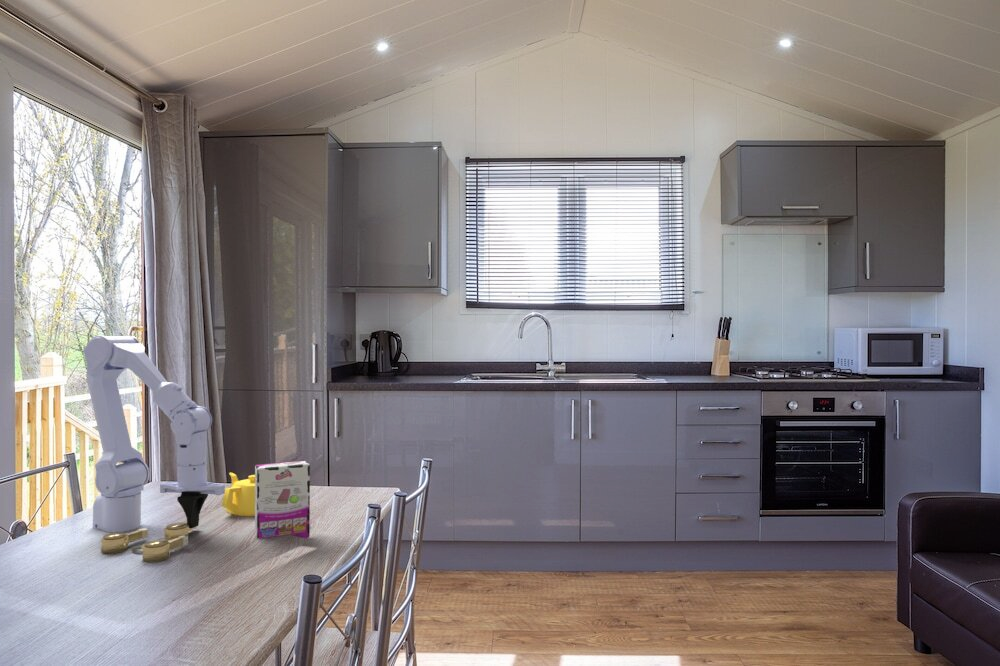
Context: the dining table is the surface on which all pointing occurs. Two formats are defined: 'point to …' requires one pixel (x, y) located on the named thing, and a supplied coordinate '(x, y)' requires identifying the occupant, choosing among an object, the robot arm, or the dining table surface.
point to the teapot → (240, 496)
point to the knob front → (161, 548)
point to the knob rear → (177, 530)
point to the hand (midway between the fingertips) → (192, 526)
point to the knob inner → (120, 540)
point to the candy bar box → (282, 499)
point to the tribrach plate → (138, 549)
